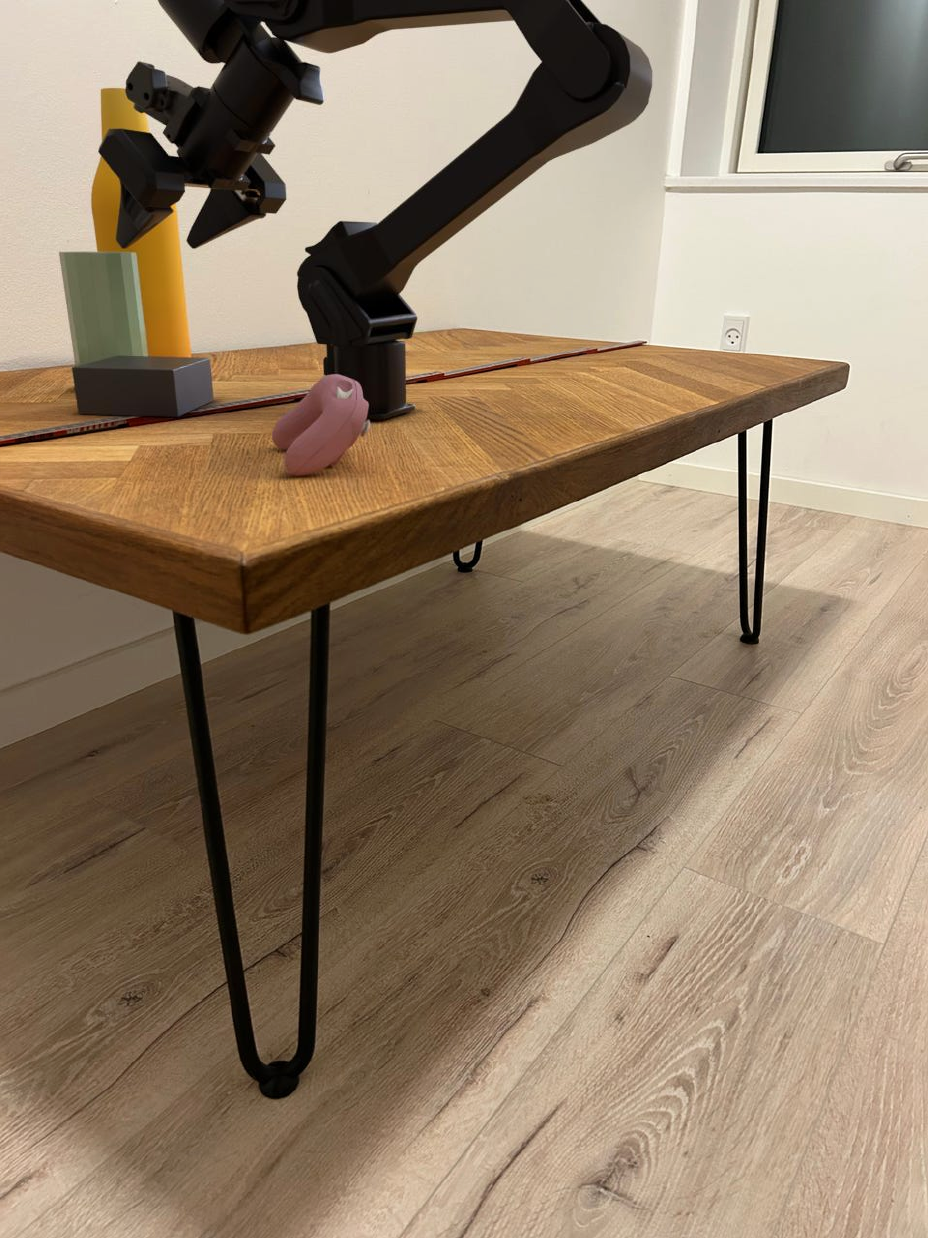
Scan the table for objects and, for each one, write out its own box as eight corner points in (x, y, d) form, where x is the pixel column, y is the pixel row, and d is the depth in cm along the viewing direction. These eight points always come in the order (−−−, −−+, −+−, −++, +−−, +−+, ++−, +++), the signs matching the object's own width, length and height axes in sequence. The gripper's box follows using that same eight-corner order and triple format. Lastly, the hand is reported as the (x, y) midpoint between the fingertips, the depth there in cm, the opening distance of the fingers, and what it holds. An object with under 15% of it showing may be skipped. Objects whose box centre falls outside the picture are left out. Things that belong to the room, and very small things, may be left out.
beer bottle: (95, 367, 108) (56, 87, 97) (157, 360, 115) (127, 98, 104) (147, 374, 104) (113, 81, 93) (208, 365, 111) (183, 93, 100)
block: (214, 400, 87) (210, 357, 86) (178, 417, 79) (173, 369, 77) (123, 398, 88) (117, 355, 86) (78, 414, 80) (71, 367, 78)
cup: (166, 386, 95) (151, 252, 90) (116, 395, 89) (97, 252, 84) (115, 381, 98) (98, 251, 93) (63, 390, 92) (42, 251, 87)
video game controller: (344, 498, 60) (389, 400, 59) (280, 471, 58) (325, 369, 57) (322, 465, 69) (361, 380, 68) (266, 441, 67) (304, 352, 66)
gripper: (253, 51, 85) (172, 183, 93) (99, 7, 69) (19, 170, 77) (327, 145, 85) (240, 268, 93) (191, 122, 69) (101, 272, 77)
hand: (156, 244), depth 85 cm, fingers open, 9 cm apart
